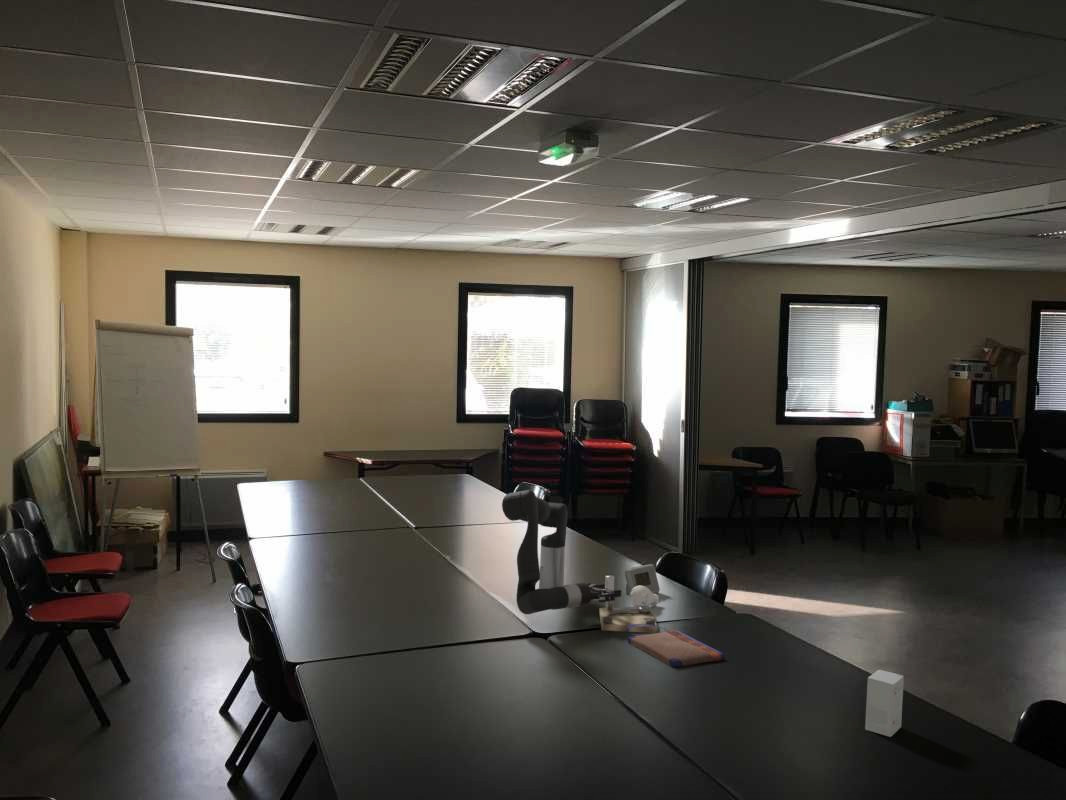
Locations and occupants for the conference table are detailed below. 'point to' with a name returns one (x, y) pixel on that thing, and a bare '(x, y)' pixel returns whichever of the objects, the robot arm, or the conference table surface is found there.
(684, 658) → the clutch
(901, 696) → the small box
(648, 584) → the digital clock
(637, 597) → the white lumpy figure
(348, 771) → the conference table surface
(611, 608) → the footscrew lever
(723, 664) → the conference table surface
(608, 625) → the tribrach base
